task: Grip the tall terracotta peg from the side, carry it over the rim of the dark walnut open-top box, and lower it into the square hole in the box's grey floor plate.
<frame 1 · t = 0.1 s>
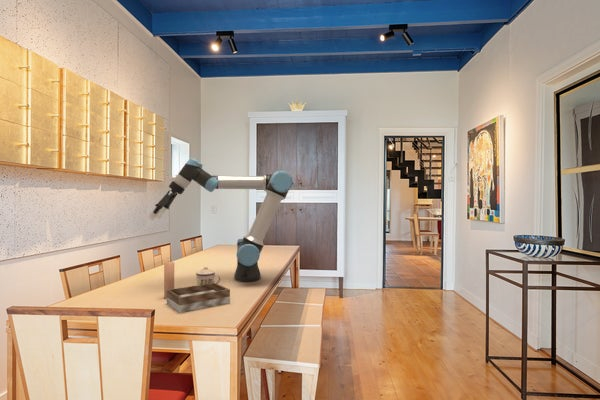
hand: (153, 218, 179), 36 cm above the table, tool tilted 35°, fingers open, 13 cm apart
teacup with lid: (208, 290, 175), on the table
box: (198, 303, 152), on the table
peg: (169, 297, 161), on the table
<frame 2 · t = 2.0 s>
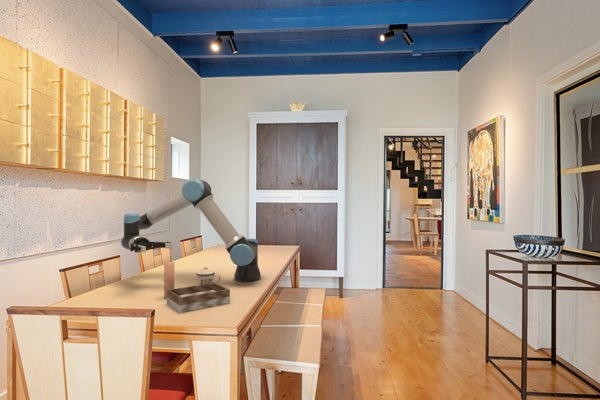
hand: (159, 248, 167), 22 cm above the table, tool horizontal, fingers open, 13 cm apart
nothing on the table moved.
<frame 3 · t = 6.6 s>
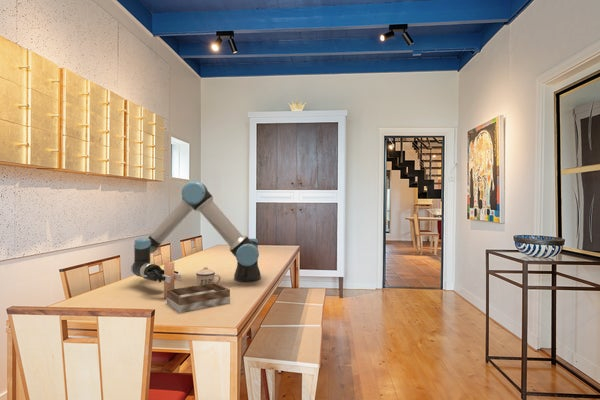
hand: (175, 278, 157), 10 cm above the table, tool horizontal, fingers closed on peg, 4 cm apart
peg: (169, 297, 161), on the table, touching gripper
everything else where it was.
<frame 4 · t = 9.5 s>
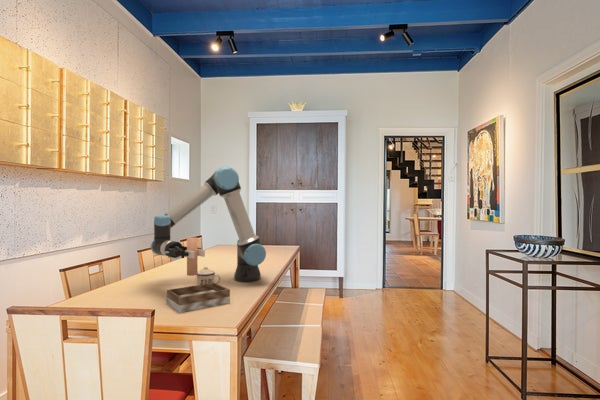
hand: (198, 254, 149), 22 cm above the table, tool horizontal, fingers closed on peg, 4 cm apart
peg: (192, 274, 153), point 12 cm above the table, touching gripper
everything else where it was.
when the fingers open (11 cm above the table, at t = 12.7 s): peg drops 1 cm, resting in box.
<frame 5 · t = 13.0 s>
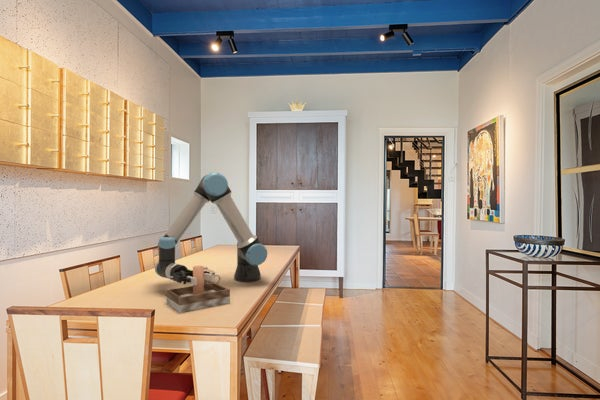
hand: (204, 279, 148), 11 cm above the table, tool horizontal, fingers open, 8 cm apart
peg: (198, 303, 152), resting in box
everything else where it was.
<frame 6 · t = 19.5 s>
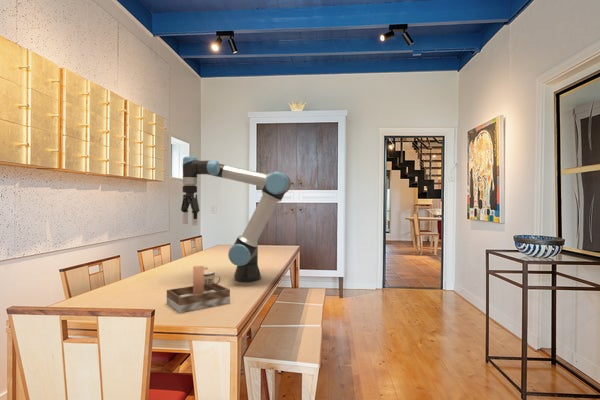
hand: (189, 224, 189), 32 cm above the table, tool pointing down, fingers open, 13 cm apart
nothing on the table moved.
at the end: peg 0.0 cm off-centre on the box, point 0.0 cm above the box's base; peg tilted 0°; the gripper is holding nothing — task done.
